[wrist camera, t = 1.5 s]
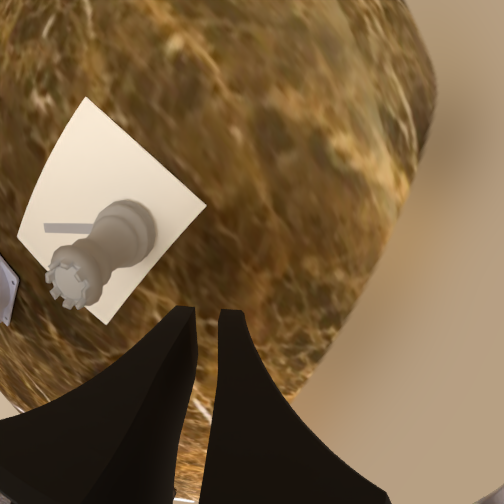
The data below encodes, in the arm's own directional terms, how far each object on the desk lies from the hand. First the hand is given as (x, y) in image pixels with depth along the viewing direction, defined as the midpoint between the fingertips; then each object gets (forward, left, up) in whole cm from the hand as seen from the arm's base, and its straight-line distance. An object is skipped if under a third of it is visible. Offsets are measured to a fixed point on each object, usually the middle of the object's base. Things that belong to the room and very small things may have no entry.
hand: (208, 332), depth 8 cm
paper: (-7, +8, -10) cm, 15 cm away
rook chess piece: (-5, +5, -10) cm, 12 cm away
